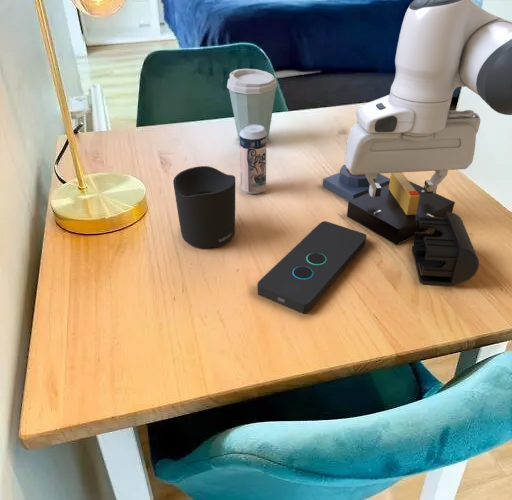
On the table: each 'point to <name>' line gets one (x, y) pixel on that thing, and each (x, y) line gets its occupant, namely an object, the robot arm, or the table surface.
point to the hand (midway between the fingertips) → (401, 193)
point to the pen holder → (205, 206)
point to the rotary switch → (396, 213)
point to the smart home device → (312, 266)
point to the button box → (351, 184)
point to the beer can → (253, 158)
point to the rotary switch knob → (404, 193)
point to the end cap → (443, 251)
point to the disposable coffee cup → (252, 98)
